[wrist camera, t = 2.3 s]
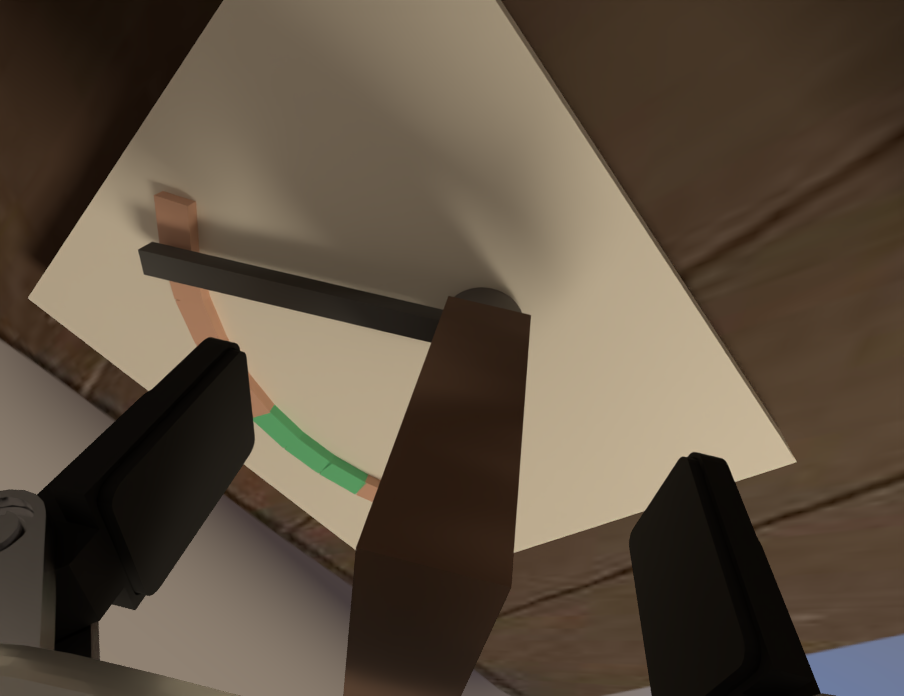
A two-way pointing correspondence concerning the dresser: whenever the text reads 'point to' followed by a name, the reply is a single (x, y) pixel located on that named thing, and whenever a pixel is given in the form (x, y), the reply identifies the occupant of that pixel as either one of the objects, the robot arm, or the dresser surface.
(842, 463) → the dresser surface
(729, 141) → the dresser surface
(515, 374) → the tuner needle gauge
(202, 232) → the board
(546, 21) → the dresser surface
